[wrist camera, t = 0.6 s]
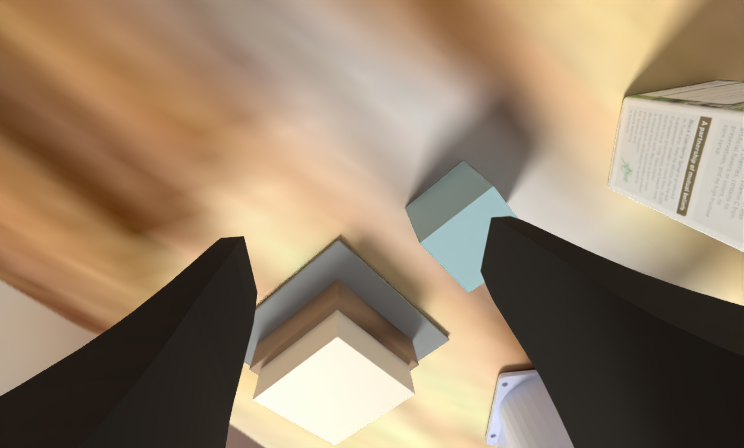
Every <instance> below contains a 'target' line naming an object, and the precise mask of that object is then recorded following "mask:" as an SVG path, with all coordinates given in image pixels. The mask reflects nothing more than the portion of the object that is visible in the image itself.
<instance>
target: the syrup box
mask: <svg viewBox="0 0 744 448" xmlns="http://www.w3.org/2000/svg"><path fill="white" fill-rule="evenodd" d="M608 188H610V189H611V190H613V191H615V192H617V193H619V194H622V195H624V196H626V197H628V198H630V199H632V200H635V201H637V202H639V203H641V204H643V205H645V206H647V207H649V208H651V209H653V210H655V211H657V212H660V213H662V214H664V215H666V216H668V217H670V218H672V219H674V220H677V221H679V222H681V223H683V224H685V225H687V226H689V227H691V228H693V229H695V230H697V231H700V232H702V233H704V234H706V235H708V236H710V237H712V238H715V239H717V240H719V241H721V242H723V243H725V244H727V245H729V246H732V247H734V248H736V249H738V250H740V251H742V252H744V81H730V80H716V81H710V82H704V83H699V84H693V85H688V86H682V87H677V88H672V89H666V90H660V91H655V92H649V93H643V94H637V95H631V96H627V97H625V98H624V100H623V104H622V109H621V113H620V118H619V122H618V127H617V133H616V139H615V144H614V151H613V156H612V163H611V169H610V174H609V182H608Z"/></svg>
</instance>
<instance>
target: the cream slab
mask: <svg viewBox="0 0 744 448" xmlns="http://www.w3.org/2000/svg"><path fill="white" fill-rule="evenodd" d="M414 394H415V392H414V387H413V383H412V378H411V374H410V369H409V365H408V364H406V363H405V362H404V361H403V360H401V359H400V358H399V357H397V356H396V355H395V354H394V353H392V352H391V351H390V350H388V349H387V348H386V347H385V346H383V345H382V344H381V343H379V342H378V341H377V340H376V339H374V338H373V337H372V336H371V335H369V334H368V333H367V332H365V331H364V330H363V329H362V328H360V327H359V326H358V325H356V324H355V323H354V322H353V321H351V320H350V319H349V318H348V317H346V316H345V315H344V314H342V313H341V312H340V311H339V310H336V311H335V312H334V313H333V314H331V315H330V316H329V317H327V318H326V319H325V320H324V321H322V322H321V323H320V324H318V325H317V326H316V327H314V328H313V329H312V330H311V331H309V332H308V333H307V334H305V335H304V336H303V337H302V338H300V339H299V340H298V341H296V342H295V343H294V344H293V345H291V346H290V347H289V348H287V349H286V350H285V351H283V352H282V353H281V354H280V355H278V356H277V357H276V358H274V359H273V360H272V361H271V362H269V363H268V364H267V365H265V366H264V367H263V368H261V369H260V373H259V377H258V381H257V385H256V389H255V393H254V397H253V400H254V401H256V402H257V403H259V404H261V405H263V406H265V407H266V408H268V409H270V410H272V411H274V412H275V413H277V414H279V415H281V416H283V417H284V418H286V419H288V420H290V421H292V422H293V423H295V424H297V425H299V426H301V427H302V428H304V429H306V430H308V431H310V432H311V433H313V434H315V435H317V436H319V437H320V438H322V439H324V440H326V441H328V442H329V443H331V444H333V445H336V444H338V443H340V442H341V441H343V440H344V439H346V438H347V437H349V436H350V435H352V434H354V433H355V432H357V431H358V430H360V429H361V428H363V427H364V426H366V425H368V424H369V423H371V422H372V421H374V420H375V419H377V418H378V417H380V416H382V415H383V414H385V413H386V412H388V411H389V410H391V409H392V408H394V407H396V406H397V405H399V404H400V403H402V402H403V401H405V400H406V399H408V398H410V397H411V396H413V395H414Z"/></svg>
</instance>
